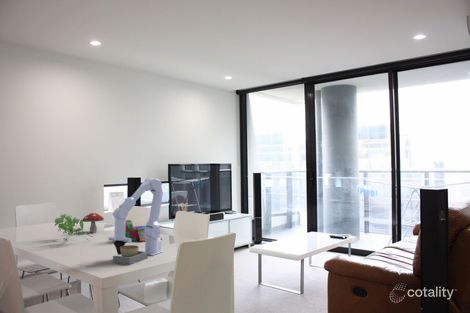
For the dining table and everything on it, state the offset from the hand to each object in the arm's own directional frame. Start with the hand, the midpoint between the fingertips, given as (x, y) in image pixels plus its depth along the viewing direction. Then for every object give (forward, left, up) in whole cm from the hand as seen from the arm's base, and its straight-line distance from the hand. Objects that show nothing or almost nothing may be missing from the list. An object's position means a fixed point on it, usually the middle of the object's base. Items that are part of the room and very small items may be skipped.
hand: (119, 254), depth 205 cm
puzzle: (-48, -24, -3) cm, 54 cm away
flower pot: (0, +7, -3) cm, 7 cm away
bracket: (0, +8, -2) cm, 8 cm away
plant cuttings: (-25, -62, -3) cm, 67 cm away
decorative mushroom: (-56, -75, -3) cm, 94 cm away
